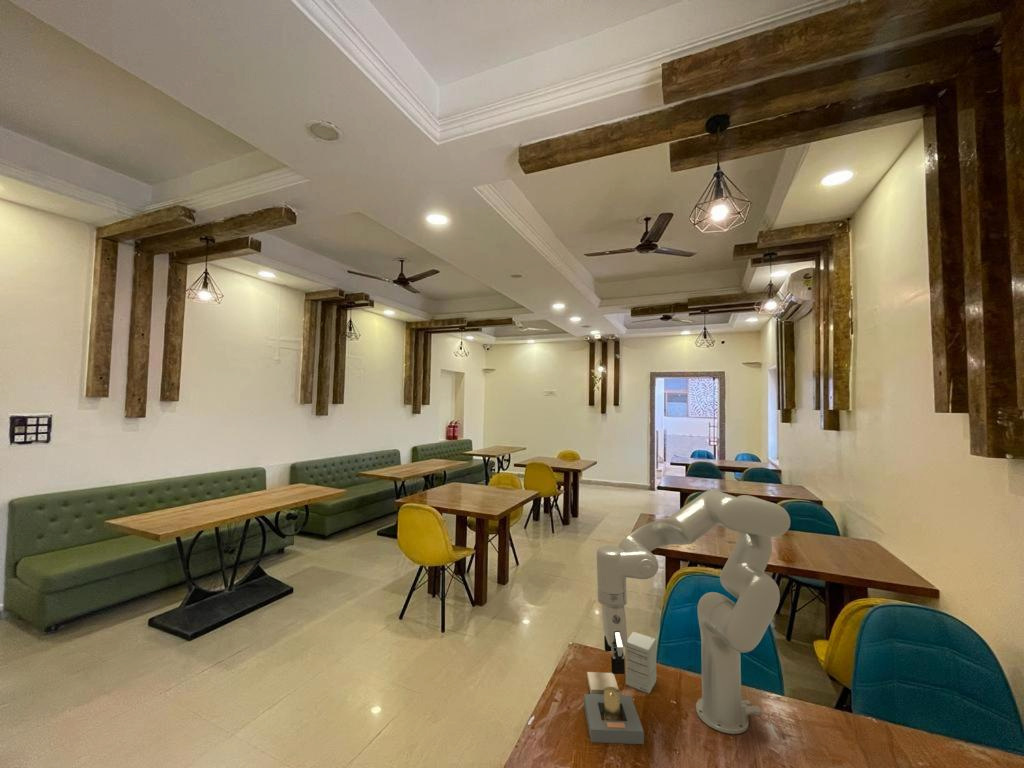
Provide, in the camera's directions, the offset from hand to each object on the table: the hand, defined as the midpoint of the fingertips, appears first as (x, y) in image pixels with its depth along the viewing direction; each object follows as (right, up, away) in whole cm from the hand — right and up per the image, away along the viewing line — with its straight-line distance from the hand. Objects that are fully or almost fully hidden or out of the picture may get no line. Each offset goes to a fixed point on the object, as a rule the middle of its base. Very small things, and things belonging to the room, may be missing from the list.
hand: (614, 661), depth 111 cm
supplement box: (+12, -17, +15) cm, 26 cm away
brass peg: (-1, -16, -1) cm, 16 cm away
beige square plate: (0, -16, +13) cm, 21 cm away
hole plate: (-1, -16, -1) cm, 16 cm away
